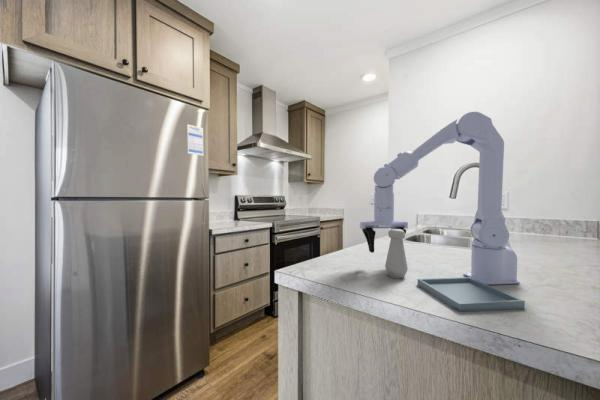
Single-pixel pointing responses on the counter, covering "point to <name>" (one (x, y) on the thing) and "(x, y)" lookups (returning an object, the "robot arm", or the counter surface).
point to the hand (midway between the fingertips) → (383, 251)
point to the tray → (470, 294)
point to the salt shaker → (396, 255)
